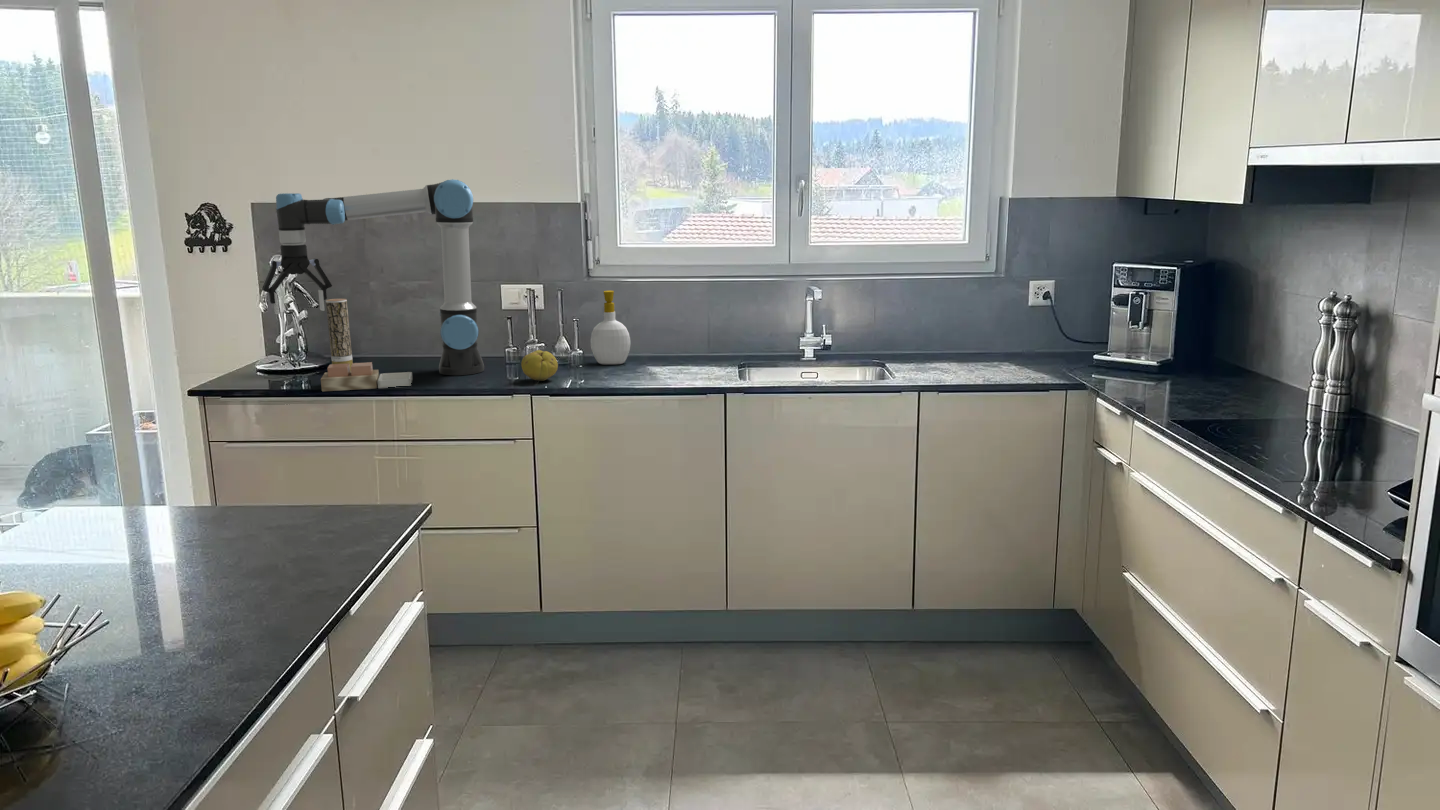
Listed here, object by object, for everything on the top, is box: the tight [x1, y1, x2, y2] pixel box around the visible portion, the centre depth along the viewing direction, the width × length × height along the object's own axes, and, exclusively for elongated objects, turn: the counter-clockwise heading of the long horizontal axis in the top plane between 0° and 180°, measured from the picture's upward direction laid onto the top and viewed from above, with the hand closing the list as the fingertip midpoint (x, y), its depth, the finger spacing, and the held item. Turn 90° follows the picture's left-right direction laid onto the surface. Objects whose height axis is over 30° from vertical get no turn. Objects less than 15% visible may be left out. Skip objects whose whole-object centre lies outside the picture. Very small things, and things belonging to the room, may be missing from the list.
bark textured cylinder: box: [325, 298, 354, 371], centre depth 346 cm, size 7×7×25 cm
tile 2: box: [351, 361, 374, 376], centre depth 324 cm, size 6×6×3 cm
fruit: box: [520, 349, 559, 382], centre depth 329 cm, size 11×12×10 cm
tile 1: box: [327, 363, 350, 377], centre depth 322 cm, size 6×6×3 cm
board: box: [320, 369, 380, 392], centre depth 324 cm, size 16×11×4 cm, turn 104°
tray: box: [377, 371, 413, 389], centre depth 327 cm, size 10×12×2 cm
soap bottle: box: [589, 290, 631, 366], centre depth 356 cm, size 14×9×26 cm, turn 88°
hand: (300, 312), depth 317 cm, fingers open, 13 cm apart
